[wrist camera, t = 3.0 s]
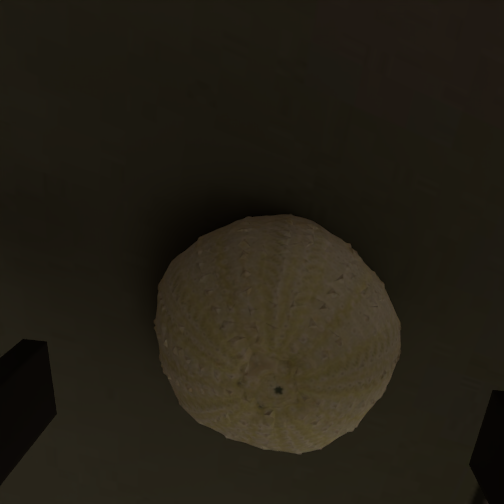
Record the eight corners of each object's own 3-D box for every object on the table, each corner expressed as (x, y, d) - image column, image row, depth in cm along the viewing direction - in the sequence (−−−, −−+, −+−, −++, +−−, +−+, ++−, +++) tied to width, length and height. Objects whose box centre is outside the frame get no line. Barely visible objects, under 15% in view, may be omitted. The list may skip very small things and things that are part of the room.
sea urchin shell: (332, 149, 12) (448, 412, 9) (365, 246, 19) (438, 419, 15) (99, 254, 15) (109, 502, 11) (202, 308, 21) (230, 473, 18)
